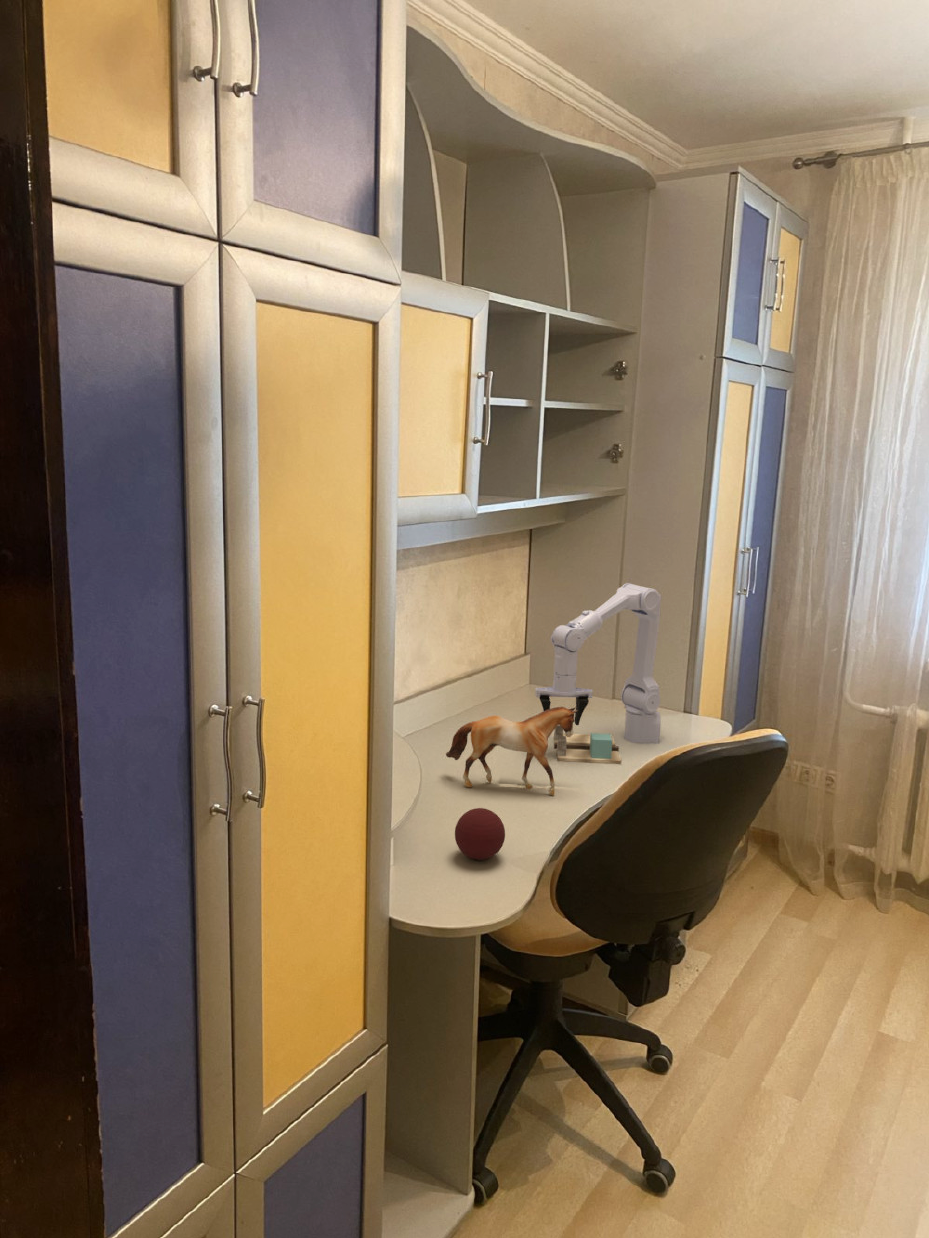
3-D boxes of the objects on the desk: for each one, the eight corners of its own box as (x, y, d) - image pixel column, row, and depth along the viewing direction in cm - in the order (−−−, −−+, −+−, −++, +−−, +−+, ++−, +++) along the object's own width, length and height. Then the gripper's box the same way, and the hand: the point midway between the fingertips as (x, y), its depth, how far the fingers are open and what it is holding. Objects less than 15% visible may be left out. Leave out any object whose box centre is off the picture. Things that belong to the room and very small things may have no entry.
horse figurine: (573, 788, 219) (578, 705, 215) (570, 801, 212) (575, 716, 207) (446, 774, 225) (448, 693, 221) (438, 786, 218) (441, 702, 213)
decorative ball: (497, 872, 177) (499, 824, 175) (447, 864, 180) (449, 816, 177) (509, 850, 186) (511, 804, 184) (461, 842, 189) (463, 797, 187)
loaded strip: (617, 754, 240) (619, 736, 239) (621, 763, 234) (622, 745, 233) (556, 751, 241) (557, 733, 240) (558, 760, 234) (559, 743, 233)
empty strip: (612, 738, 252) (613, 721, 251) (615, 747, 245) (616, 730, 244) (553, 735, 253) (554, 719, 252) (555, 744, 246) (556, 727, 245)
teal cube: (608, 752, 239) (610, 733, 238) (611, 759, 234) (612, 740, 233) (589, 751, 239) (590, 732, 238) (591, 758, 235) (592, 739, 234)
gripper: (590, 669, 238) (586, 719, 241) (534, 668, 237) (531, 718, 240) (595, 676, 231) (592, 728, 234) (538, 675, 230) (535, 727, 233)
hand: (561, 723), depth 236 cm, fingers open, 7 cm apart
